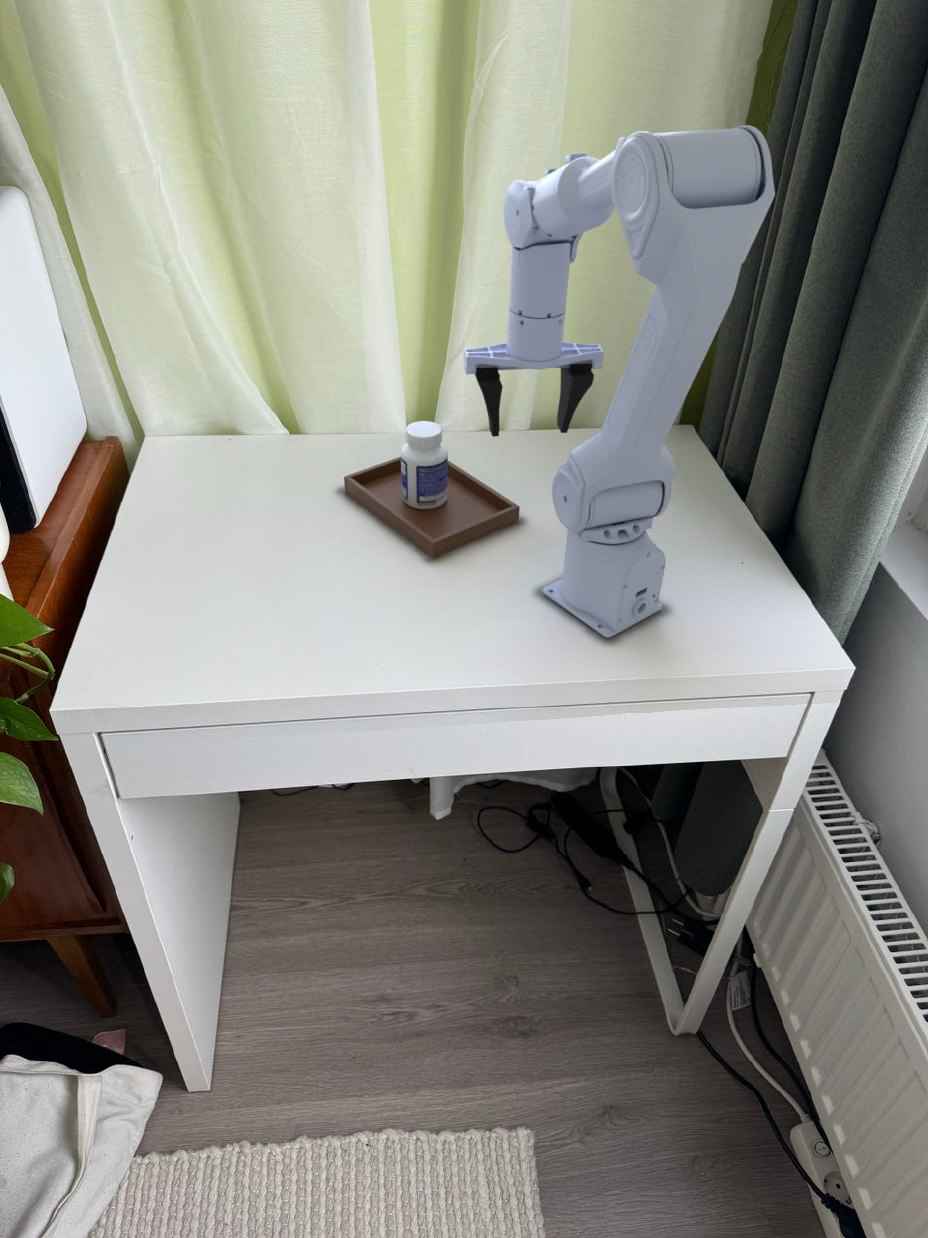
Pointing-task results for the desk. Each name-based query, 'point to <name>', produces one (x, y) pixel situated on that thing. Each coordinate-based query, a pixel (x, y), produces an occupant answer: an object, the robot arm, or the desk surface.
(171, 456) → the desk surface
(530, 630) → the desk surface
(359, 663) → the desk surface
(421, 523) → the tray
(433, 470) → the pill bottle
